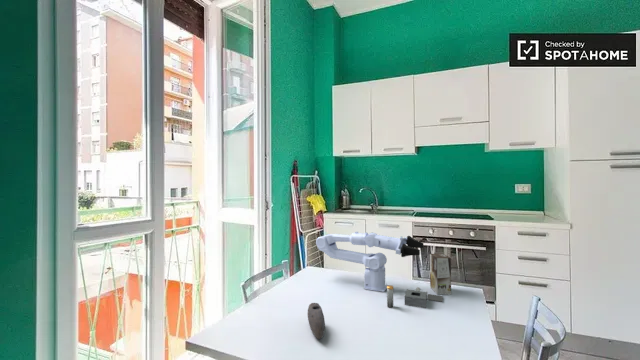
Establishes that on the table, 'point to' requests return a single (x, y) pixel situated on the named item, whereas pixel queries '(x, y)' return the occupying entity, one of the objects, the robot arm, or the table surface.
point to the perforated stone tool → (316, 320)
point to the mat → (435, 298)
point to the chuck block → (416, 298)
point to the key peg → (390, 296)
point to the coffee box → (440, 273)
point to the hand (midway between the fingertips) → (421, 248)
